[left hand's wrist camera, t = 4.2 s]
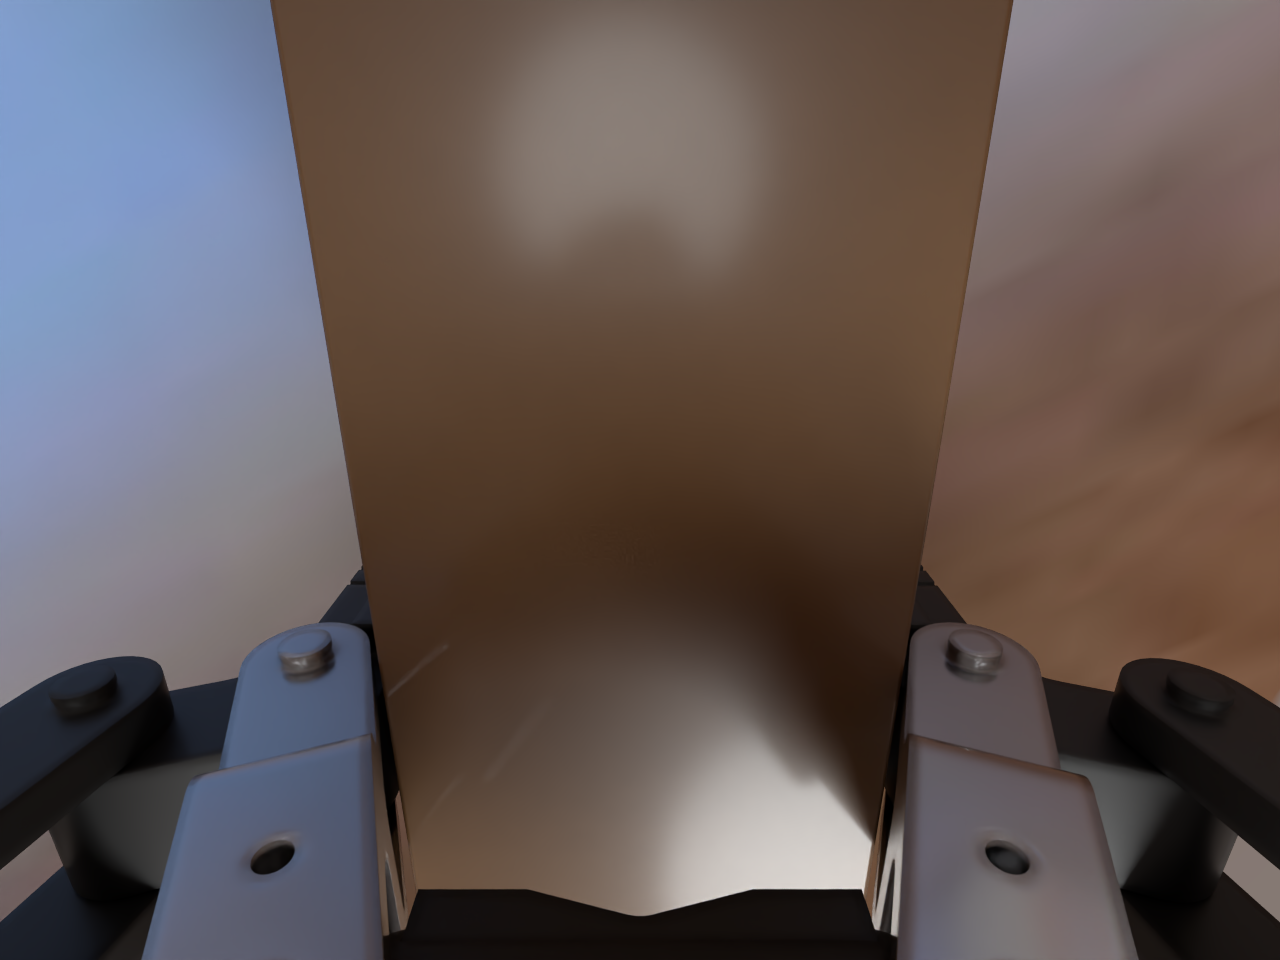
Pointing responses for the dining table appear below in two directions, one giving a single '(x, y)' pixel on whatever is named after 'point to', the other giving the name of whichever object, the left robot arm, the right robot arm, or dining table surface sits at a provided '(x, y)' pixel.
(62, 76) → the dining table surface
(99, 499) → the dining table surface
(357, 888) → the left robot arm
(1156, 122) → the dining table surface
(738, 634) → the bar
